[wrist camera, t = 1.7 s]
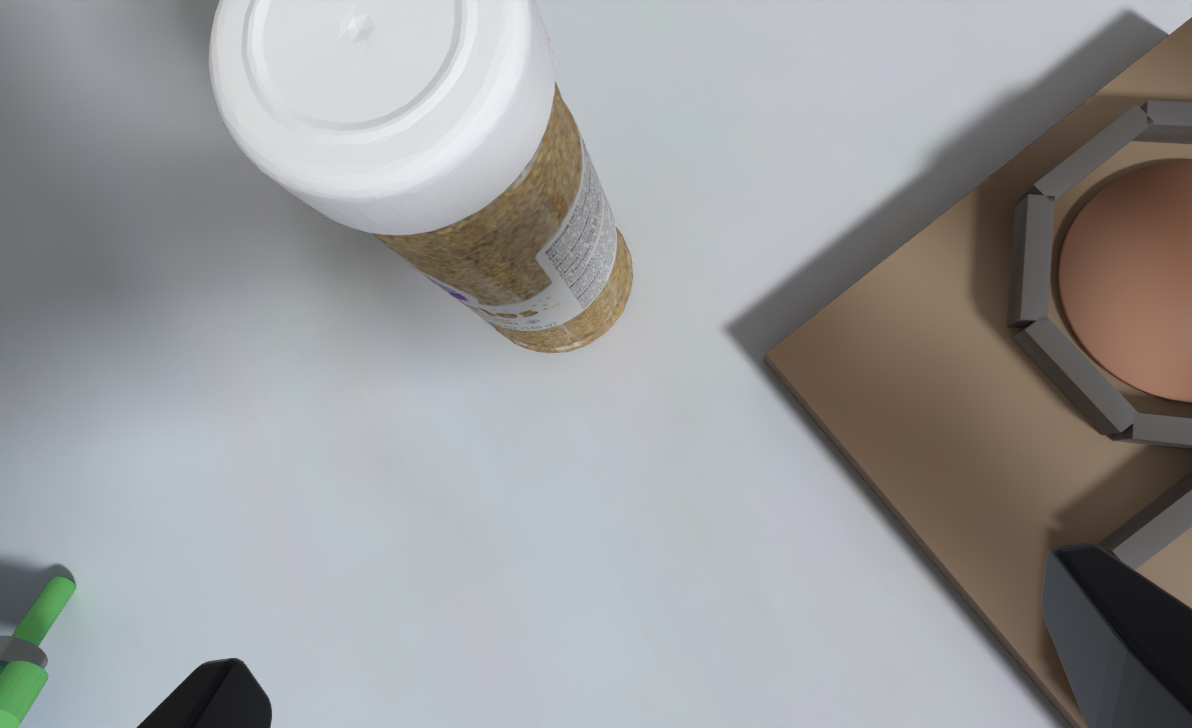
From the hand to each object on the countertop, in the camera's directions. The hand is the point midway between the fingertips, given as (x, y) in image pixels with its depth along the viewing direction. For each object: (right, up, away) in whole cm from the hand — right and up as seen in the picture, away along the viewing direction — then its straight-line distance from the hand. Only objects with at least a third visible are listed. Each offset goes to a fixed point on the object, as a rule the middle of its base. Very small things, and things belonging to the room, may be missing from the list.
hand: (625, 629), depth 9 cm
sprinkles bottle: (-1, +5, +15) cm, 16 cm away
